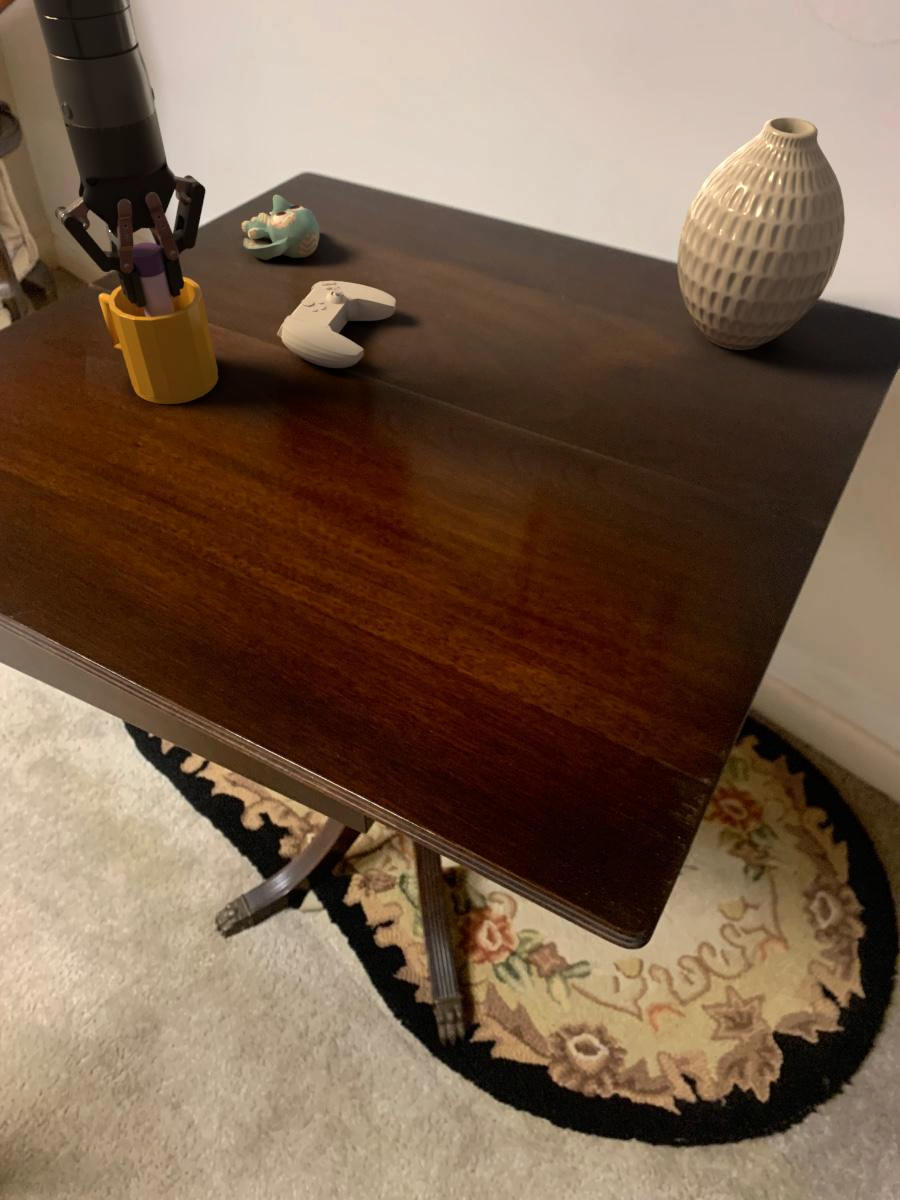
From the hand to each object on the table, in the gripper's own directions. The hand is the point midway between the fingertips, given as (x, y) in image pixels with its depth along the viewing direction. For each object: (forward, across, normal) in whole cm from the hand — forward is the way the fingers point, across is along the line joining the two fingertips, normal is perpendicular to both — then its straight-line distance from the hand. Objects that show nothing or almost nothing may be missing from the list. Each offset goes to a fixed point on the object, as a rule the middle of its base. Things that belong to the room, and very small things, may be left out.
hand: (155, 297), depth 86 cm
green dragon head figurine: (+10, -23, -20) cm, 32 cm away
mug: (+9, +1, -1) cm, 9 cm away
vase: (+10, -56, +27) cm, 63 cm away
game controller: (+10, -18, +2) cm, 21 cm away
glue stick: (+5, 0, 0) cm, 5 cm away
